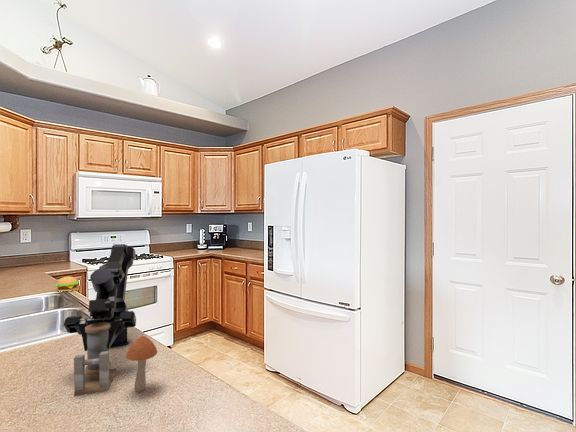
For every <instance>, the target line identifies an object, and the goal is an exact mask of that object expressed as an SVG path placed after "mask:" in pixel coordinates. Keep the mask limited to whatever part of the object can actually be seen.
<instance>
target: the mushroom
mask: <svg viewBox="0 0 576 432" xmlns="http://www.w3.org/2000/svg"><path fill="white" fill-rule="evenodd" d="M157 354H158V350H157V348H156V345H155V344H154V342H153V341H152V340H151V339H150V338H149V337H147V336H145V335H143V334H142V335H140V336H138V337H137V338H136V339H135V340H133V342H132V344H131V345H130V346H129V348H128V350H127V351H126V354H125V358H126V359H127V360H129V361H135V362H137V370H136V374H135V381H134V391H135V392H137V393H138V392H139V393H140V392H143V391H145V389H146V387H147V386H146V385H147V382H146V379H147V378H146V364H147V360H149V359H151V358H154V357H155V356H156V355H157Z"/></svg>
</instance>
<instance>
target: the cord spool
mask: <svg viewBox="0 0 576 432" xmlns="http://www.w3.org/2000/svg"><path fill="white" fill-rule="evenodd" d="M109 329H110V323H108V322H98V323H93V324H90V325H88V326H86V327H85V332H86V333H87V351H86V355H87V356H86V357H87V358H86V360H88V359H97V358H99V354H100V353H101V352H106V351H109V352H110V348H109V349H108V348H107V345H108V339H109ZM110 369H112V362H111V361H109V370H110ZM85 374H87V375H98V374H99V364H92V365H86V366H85Z"/></svg>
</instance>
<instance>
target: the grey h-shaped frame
mask: <svg viewBox="0 0 576 432" xmlns="http://www.w3.org/2000/svg"><path fill="white" fill-rule="evenodd" d="M85 355H86V354H85V353H82V354H76V355H75V356H74V357H73V381H74V382H73V385H74V386H73V387H74V388H73V390H74V391H73V396H74V397H75V396H81V395H86V394H88V395H89V394H94V393H100V392H107V391H109V388H110V386H111V383H113V379H114V377H115V375H116V373H117V368H110V370H109V362H110V350H109V351H106V352H101V353H100V354H99V358H97V359H88V360H87V359H85V358H86V357H85ZM92 364H99V374H98V375H87V374H86V366H87V365H92Z"/></svg>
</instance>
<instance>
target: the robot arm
mask: <svg viewBox="0 0 576 432" xmlns="http://www.w3.org/2000/svg"><path fill="white" fill-rule="evenodd" d="M135 259H136V250H135V248H134V247H131V246H128V244H126V243H121V244H119V243H118V244H113V245H112V248H111V249H110V255H109V258H108V260H107V262H106V263H104V264H102V265H100V266H99V267H98V269H95V270H94V271H93V272H91V274H90V276H89V279H90V283H91V284H92V288H93V290H94V291H95V293H96V296H95V299H91V300H89V301H88V310H87V312H88V313H89V317H91V318H89V319H88V318H83V316H82V315H70V316H67V317H66V318H65V319H64V321H63V327H64V329H65V330H66V332H67V333H69V334H78V335H79V336H80V335H81V337H82V344H83V350H84V352H87V333H86V332H85V327H86V326H88V325H90V324H93V323H98V322H108V323H110V329H109V339H108V345H107V348H108V349H109V350H110V349H111V348H115V347H121V346H125V345H128V344H129V341H128V329H129V328H134V327H136V325H137V316H136V313H135V312H134V310H129V309H128V307H127V304H126V303H125V299H126V292H127V291H126V290H127V283H128V274H129V269H130V268H131V267H132V266H133V265H134V260H135Z"/></svg>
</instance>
